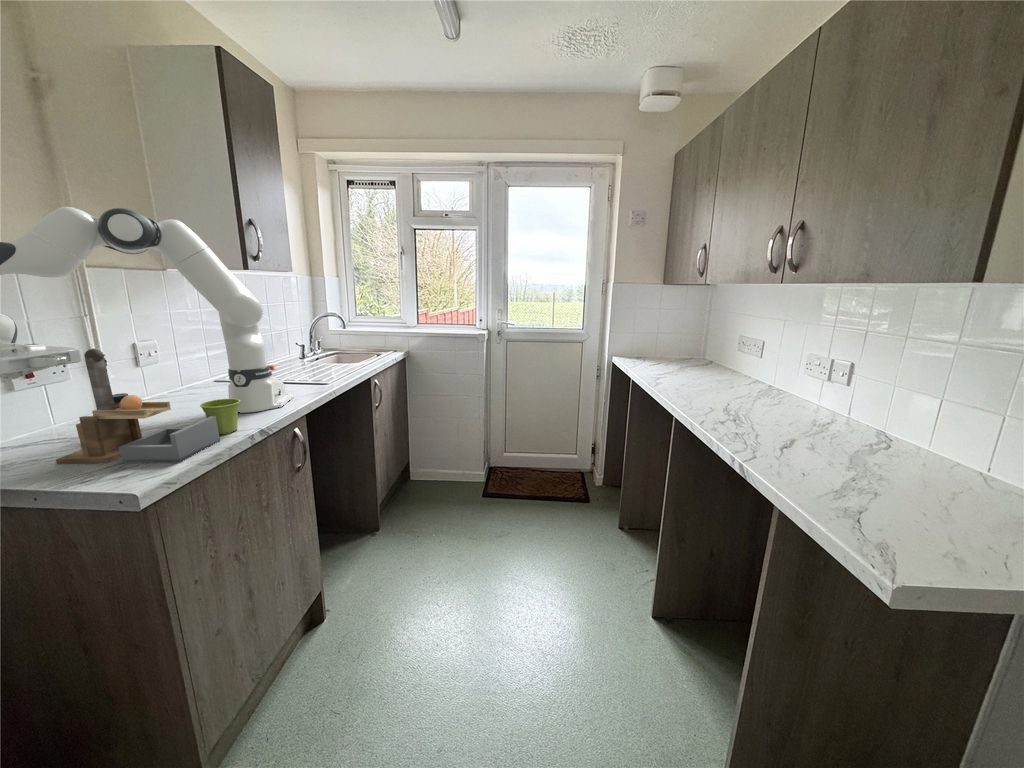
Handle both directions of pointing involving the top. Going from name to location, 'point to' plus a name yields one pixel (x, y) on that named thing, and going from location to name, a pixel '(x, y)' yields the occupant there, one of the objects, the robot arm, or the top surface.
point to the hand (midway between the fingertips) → (61, 361)
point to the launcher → (105, 396)
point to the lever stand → (102, 440)
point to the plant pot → (223, 413)
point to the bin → (171, 443)
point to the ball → (131, 402)
